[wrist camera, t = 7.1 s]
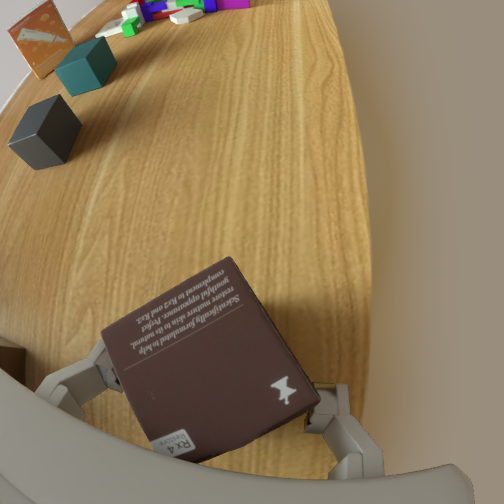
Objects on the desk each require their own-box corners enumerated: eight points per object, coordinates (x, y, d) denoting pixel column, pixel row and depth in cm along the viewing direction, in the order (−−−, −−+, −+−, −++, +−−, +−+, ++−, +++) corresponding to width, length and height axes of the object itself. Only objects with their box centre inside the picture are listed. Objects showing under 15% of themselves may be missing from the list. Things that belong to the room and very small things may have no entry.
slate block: (65, 163, 21) (36, 133, 16) (34, 170, 21) (7, 145, 17) (82, 124, 23) (59, 93, 18) (51, 133, 23) (28, 106, 18)
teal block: (102, 87, 24) (85, 57, 20) (71, 96, 25) (53, 70, 20) (117, 63, 26) (104, 35, 21) (87, 72, 26) (72, 47, 21)
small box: (39, 81, 28) (5, 31, 16) (39, 70, 30) (10, 24, 17) (79, 52, 29) (50, -3, 17) (76, 44, 31) (50, -5, 18)
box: (253, 299, 17) (233, 249, 10) (307, 386, 14) (328, 402, 7) (166, 347, 16) (95, 328, 9) (213, 435, 13) (165, 476, 7)
